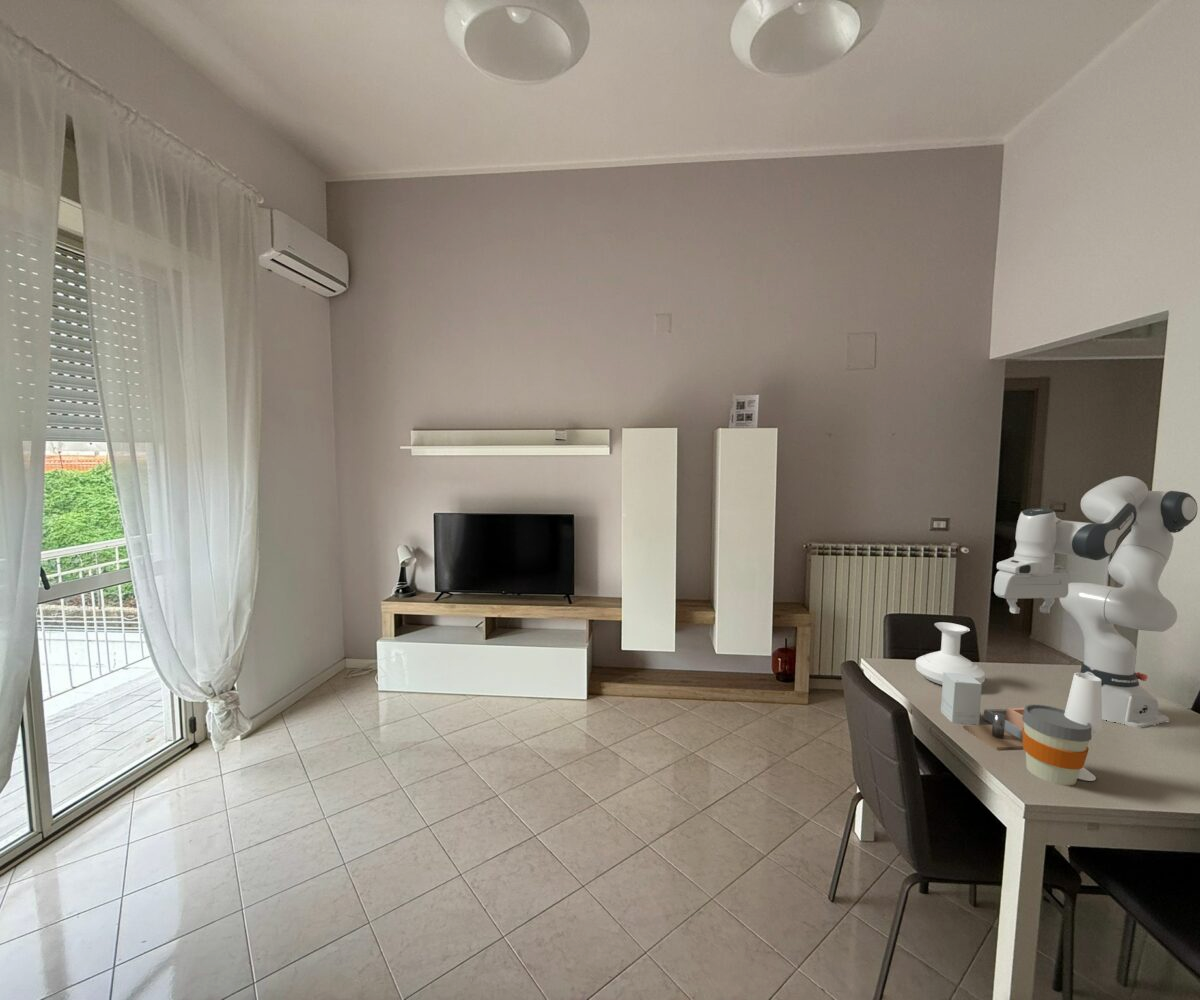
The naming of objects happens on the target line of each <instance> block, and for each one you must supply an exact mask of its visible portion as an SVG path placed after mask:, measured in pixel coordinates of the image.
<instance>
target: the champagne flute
mask: <svg viewBox="0 0 1200 1000" xmlns="http://www.w3.org/2000/svg"><path fill="white" fill-rule="evenodd" d="M1064 710H1065V713H1064V716H1065V717H1066V718H1068V719H1070V720H1072V721H1074V722H1076V723H1079V724H1083V725H1088V723H1090V724H1091V735H1092V734H1095V733H1097V732H1099V731H1100V730H1101V729H1102V728H1103V720H1102V691H1101V679H1100V678H1098V677H1096V676H1093V675H1089V674H1085V673H1080V672H1074V673H1073V678H1072V681H1071V686H1070V689H1069V694H1068V698H1067V702H1066V706H1065V709H1064ZM1078 779H1079V780H1081V781H1089V782H1093V781H1096V779H1097V777H1096V776H1095V775H1094V774H1093V773H1092V772H1090V771H1089V770H1088V769H1087V768H1085V767H1083V768H1081V769H1080V771H1079V774H1078V777H1077V780H1078Z"/></svg>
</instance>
